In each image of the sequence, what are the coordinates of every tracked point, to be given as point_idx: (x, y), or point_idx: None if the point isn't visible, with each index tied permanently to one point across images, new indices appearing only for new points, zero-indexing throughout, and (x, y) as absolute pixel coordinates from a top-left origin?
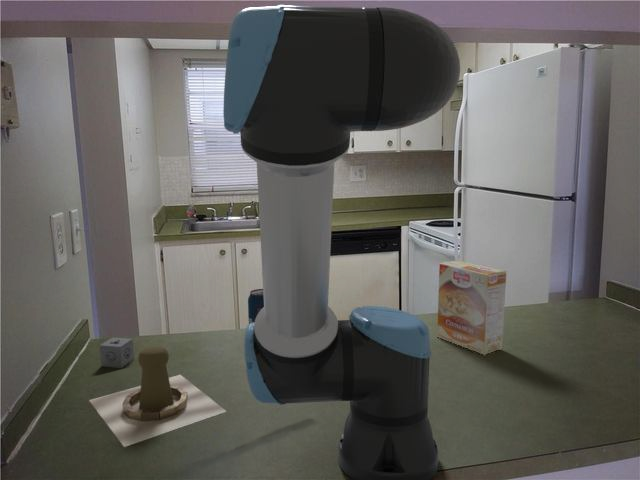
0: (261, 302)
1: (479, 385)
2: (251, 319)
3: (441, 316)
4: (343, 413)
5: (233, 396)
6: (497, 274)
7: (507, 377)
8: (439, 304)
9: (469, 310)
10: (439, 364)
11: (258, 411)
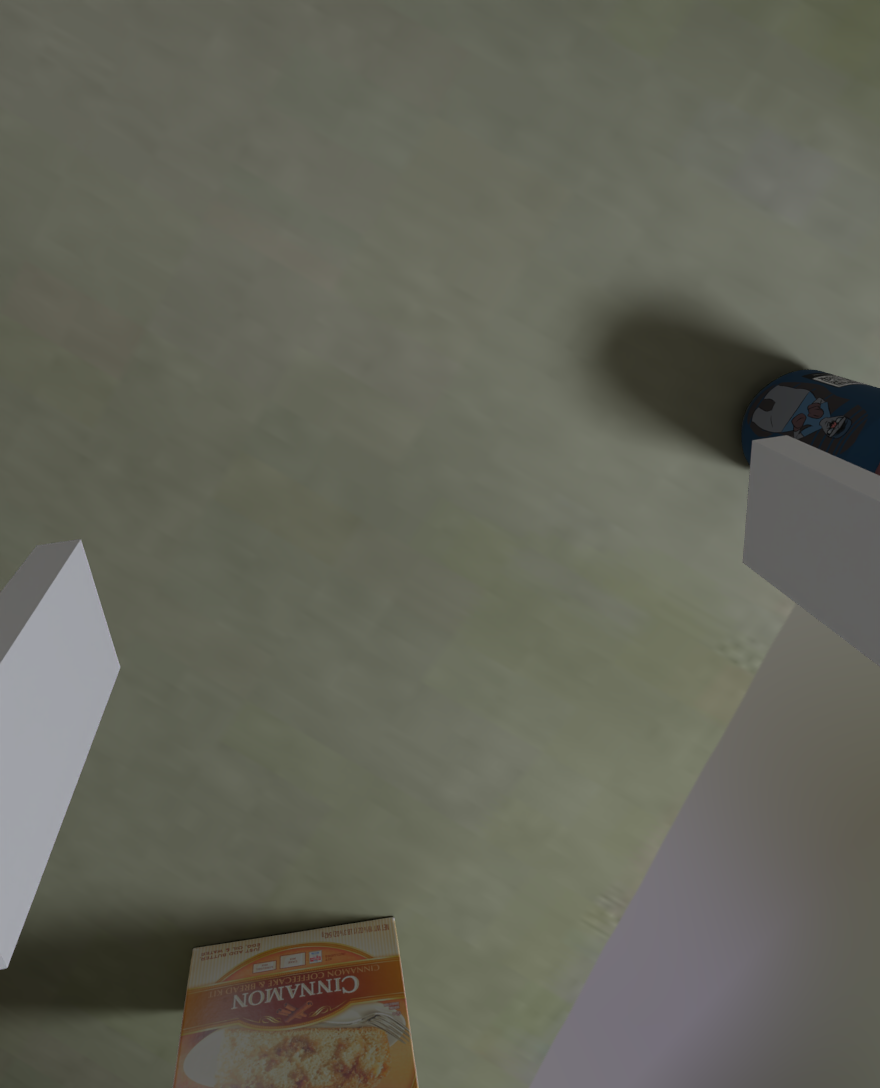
0: (854, 443)
1: None
2: (841, 386)
3: (384, 991)
4: (4, 345)
5: (338, 28)
6: None
7: None
8: (401, 1030)
9: (249, 1070)
10: (203, 812)
11: (161, 57)
